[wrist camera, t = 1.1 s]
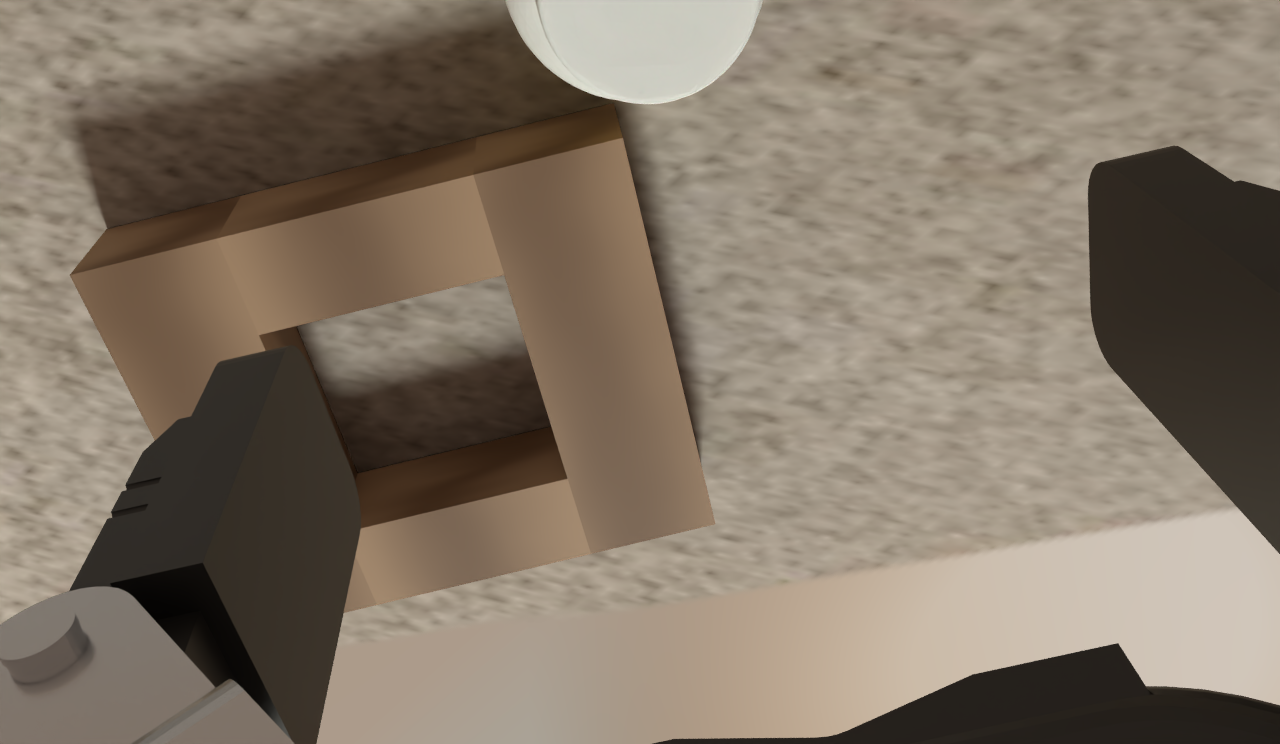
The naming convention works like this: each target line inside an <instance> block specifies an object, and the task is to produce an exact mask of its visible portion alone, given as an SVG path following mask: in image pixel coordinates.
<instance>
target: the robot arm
mask: <svg viewBox="0 0 1280 744" xmlns="http://www.w3.org/2000/svg"><path fill="white" fill-rule="evenodd" d="M1088 212H1089V258H1090V304H1091V316H1092V322H1093V327H1094V331H1095V335H1096V338H1097V341H1098V344H1099V347H1100V349H1101V352H1102V354H1103V356H1104V358H1105V359H1106V361H1107V363H1108V364H1109V365H1110V367H1111V368H1112V369H1113V370H1114V371H1115V372H1116V374H1117V375H1118V376H1119V377H1120V378H1121V379H1122V380H1123V381H1124V382H1125V384H1126V385H1127V386H1128V387H1129V388H1130V389H1131V390H1132V391H1133V392H1134V393H1135V395H1136V396H1137V397H1138V398H1139V399H1140V400H1141V401H1142V402H1143V403H1144V405H1145V406H1146V407H1147V408H1148V409H1149V410H1150V411H1151V412H1152V413H1153V414H1154V416H1155V417H1156V418H1157V419H1158V420H1159V421H1160V422H1161V423H1162V424H1163V426H1164V427H1165V428H1166V429H1167V430H1168V431H1169V432H1170V433H1171V434H1172V435H1173V437H1174V438H1175V439H1176V440H1177V441H1178V442H1179V443H1180V444H1181V445H1182V447H1183V448H1184V449H1185V450H1186V451H1187V452H1188V453H1189V454H1190V455H1191V456H1192V458H1193V459H1194V460H1195V461H1196V462H1197V463H1198V464H1199V465H1200V466H1201V468H1202V469H1203V470H1204V471H1205V472H1206V473H1207V474H1208V475H1209V476H1210V477H1211V479H1212V480H1213V481H1214V482H1215V483H1216V484H1217V485H1218V486H1219V487H1220V488H1221V490H1222V491H1223V492H1224V493H1225V494H1226V495H1227V496H1228V497H1229V498H1230V500H1231V501H1232V502H1233V503H1234V504H1235V505H1236V506H1237V507H1238V508H1239V509H1240V511H1241V512H1242V513H1243V514H1244V515H1245V516H1246V517H1247V518H1248V519H1249V521H1250V522H1251V523H1252V524H1253V525H1254V526H1255V527H1256V528H1257V529H1258V530H1259V531H1260V532H1261V534H1262V535H1263V536H1264V537H1265V538H1266V539H1267V540H1268V542H1269V543H1270V544H1271V545H1272V546H1273V547H1274V548H1275V549H1276V550H1277V551H1278V553H1279V554H1280V191H1278V190H1274V189H1271V188H1267V187H1263V186H1259V185H1256V184H1252V183H1248V182H1245V181H1241V180H1240V181H1236V182H1234V181H1232V180H1231V179H1229V178H1227V177H1226V176H1224V175H1223V174H1221V173H1220V172H1218V171H1217V170H1215V169H1214V168H1212V167H1211V166H1209V165H1207V164H1206V163H1204V162H1203V161H1201V160H1200V159H1198V158H1197V157H1195V156H1194V155H1192V154H1190V153H1189V152H1187V151H1186V150H1184V149H1183V148H1181V147H1179V146H1170V147H1166V148H1162V149H1157V150H1153V151H1149V152H1144V153H1140V154H1135V155H1131V156H1127V157H1122V158H1118V159H1113V160H1109V161H1105V162H1100V163H1098V164H1096V165H1095V167H1094V168H1093V170H1092V172H1091V175H1090V179H1089V186H1088ZM126 488H127V490H126V491H122V492H121V494H120V496H119V498H118V500H117V502H116V504H115V506H114V507H113V509H112V511H111V513H112V518H109V519H107V521H106V523H105V524H104V526H103V528H102V530H101V532H100V534H99V536H98V538H97V540H96V541H95V543H94V545H93V547H92V549H91V551H90V553H89V555H88V557H87V558H86V560H85V562H84V564H83V566H82V568H81V570H80V572H79V574H78V575H77V577H76V579H75V581H74V583H73V585H72V587H71V589H70V591H69V592H65V593H62V594H59V595H56V596H53V597H51V598H48V599H46V600H44V601H41V602H39V603H37V604H35V605H33V606H31V607H29V608H27V609H25V610H23V611H21V612H19V613H18V614H16V615H15V616H13V617H11V618H10V619H8V620H7V621H5V622H4V623H2V624H1V625H0V744H316V743H317V737H318V733H319V728H320V723H321V719H322V713H323V709H324V704H325V699H326V695H327V690H328V685H329V680H330V675H331V671H332V666H333V661H334V656H335V651H336V647H337V642H338V637H339V632H340V627H341V623H342V618H343V613H344V608H345V603H346V599H347V594H348V589H349V584H350V579H351V575H352V570H353V565H354V560H355V555H356V551H357V546H358V541H359V536H360V530H361V510H360V502H359V496H358V491H357V487H356V483H355V480H354V476H353V473H352V471H351V468H350V465H349V463H348V460H347V458H346V455H345V453H344V450H343V448H342V445H341V443H340V440H339V438H338V435H337V433H336V430H335V428H334V425H333V423H332V420H331V418H330V416H329V413H328V411H327V408H326V406H325V403H324V401H323V398H322V396H321V393H320V391H319V388H318V386H317V383H316V381H315V378H314V376H313V373H312V371H311V368H310V366H309V364H308V362H307V360H306V358H305V357H304V355H303V354H302V352H301V351H300V350H299V349H298V348H297V347H296V346H293V345H289V346H285V347H280V348H276V349H272V350H267V351H263V352H258V353H254V354H250V355H245V356H241V357H236V358H232V359H228V360H223V361H220V362H219V363H217V365H216V366H215V368H214V370H213V372H212V374H211V376H210V379H209V381H208V383H207V385H206V387H205V389H204V391H203V393H202V395H201V397H200V399H199V401H198V403H197V405H196V407H195V409H194V411H193V413H192V415H191V416H190V417H186V418H181V419H178V420H177V421H176V422H175V423H173V424H172V425H171V426H170V427H169V428H168V429H167V430H166V431H165V432H164V433H163V434H162V435H161V436H160V437H158V438H157V439H156V440H155V441H154V442H153V443H152V444H151V445H150V446H149V447H148V448H147V449H146V450H145V451H143V453H142V455H141V456H140V458H139V460H138V462H137V464H136V466H135V468H134V470H133V472H132V473H131V475H130V477H129V479H128V481H127V483H126ZM654 744H1280V705H1276V704H1272V703H1268V702H1264V701H1260V700H1256V699H1252V698H1248V697H1244V696H1239V695H1233V694H1227V693H1221V692H1215V691H1209V690H1203V689H1191V688H1177V687H1157V686H1154V687H1152V686H1151V687H1149V686H1145V685H1144V683H1143V681H1142V680H1141V678H1140V677H1139V675H1138V674H1137V672H1136V671H1135V669H1134V667H1133V666H1132V664H1131V663H1130V661H1129V660H1128V658H1127V656H1126V655H1125V653H1124V652H1123V650H1122V649H1121V647H1120V646H1119V644H1113V645H1108V646H1103V647H1099V648H1094V649H1090V650H1085V651H1080V652H1075V653H1071V654H1066V655H1062V656H1057V657H1052V658H1048V659H1044V660H1038V661H1034V662H1029V663H1024V664H1020V665H1015V666H1011V667H1006V668H1001V669H997V670H992V671H987V672H983V673H978V674H973V675H971V676H969V677H966V678H964V679H962V680H960V681H957V682H955V683H953V684H951V685H948V686H946V687H944V688H942V689H939V690H938V691H935V692H933V693H931V694H928V695H926V696H924V697H922V698H920V699H917V700H915V701H913V702H911V703H908V704H906V705H904V706H902V707H899V708H897V709H895V710H893V711H890V712H888V713H886V714H884V715H882V716H879V717H877V718H875V719H873V720H871V721H868V722H866V723H864V724H862V725H859V726H857V727H855V728H852V729H850V730H848V731H845V732H843V733H840V734H837V735H833V736H829V737H819V738H737V739H736V738H733V739H732V738H730V739H672V740H668V741H663V742H658V743H654Z"/></svg>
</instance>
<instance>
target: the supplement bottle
mask: <svg viewBox="0 0 1280 744" xmlns="http://www.w3.org/2000/svg"><path fill="white" fill-rule="evenodd" d="M505 2H506V4H507V7H508V10H509V13H510V16H511V18H512V20H513V22H514V24H515V26H516V28H517V30H518V32H519V34H520V36H521V37H522V39H523V40H524V42H525V43H526V45H527V46H528V47H529V49H530V50H531V51H532V52H533V54H534V55H535V56H536V57H537V58H538V59H539V60H540V61H541V62H542V63H543V64H544V65H545V66H546V67H547V68H548V69H549V70H550V71H552V72H553V73H554V74H555V75H557V76H558V77H560V78H561V79H563V80H564V81H566V82H567V83H569V84H571V85H573V86H574V87H576V88H579V89H581V90H583V91H585V92H588V93H590V94H593V95H596V96H600V97H604V98H607V99H614V100H619V101H623V102H629V103H636V104H659V103H666V102H670V101H675V100H678V99H681V98H683V97H686V96H689V95H692V94H694V93H696V92H698V91H700V90H701V89H703V88H705V87H706V86H708V85H709V84H711V83H712V82H713V81H715V80H716V79H717V78H718V77H720V76H721V75H722V74H723V73H724V72H725V71H726V70H727V69H728V68H729V67H730V66H731V65H732V64H733V62H734V61H735V60H736V58H737V57H738V56H739V54H740V53H741V51H742V50H743V48H744V47H745V45H746V43H747V41H748V39H749V37H750V35H751V33H752V30H753V28H754V25H755V22H756V18H757V16H758V14H759V11H760V9H761V6H762V3H763V0H505Z"/></svg>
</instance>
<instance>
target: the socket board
mask: <svg viewBox="0 0 1280 744" xmlns="http://www.w3.org/2000/svg"><path fill="white" fill-rule="evenodd" d="M502 275H504V276H505V279H506V282H507V285H508V288H509V292H510V295H511V298H512V301H513V305H514V308H515V311H516V314H517V317H518V321H519V324H520V327H521V330H522V334H523V337H524V340H525V343H526V346H527V350H528V353H529V356H530V359H531V362H532V366H533V369H534V372H535V375H536V379H537V382H538V385H539V388H540V391H541V395H542V398H543V401H544V404H545V408H546V411H547V414H548V417H549V420H550V424H551V427H547V428H543V429H539V430H535V431H531V432H527V433H523V434H518V435H514V436H510V437H506V438H502V439H498V440H494V441H490V442H485V443H481V444H477V445H473V446H469V447H465V448H461V449H456V450H452V451H448V452H444V453H440V454H436V455H432V456H428V457H423V458H419V459H415V460H411V461H407V462H403V463H399V464H394V465H390V466H386V467H382V468H378V469H374V470H370V471H365V472H361V473H357V471H356V469H355V466H354V464H353V461H352V459H351V457H350V454H349V452H348V449H347V447H346V445H345V442H344V440H343V438H342V435H341V433H340V430H339V428H338V426H337V423H336V421H335V418H334V416H333V414H332V411H331V409H330V406H329V404H328V402H327V399H326V397H325V395H324V392H323V390H322V387H321V385H320V383H319V380H318V378H317V375H316V373H315V371H314V368H313V366H312V363H311V361H310V359H309V356H308V354H307V352H306V349H305V347H304V344H303V342H302V340H301V337H300V335H299V332H298V330H297V328H296V326H298V325H302V324H306V323H310V322H314V321H319V320H323V319H327V318H331V317H335V316H339V315H343V314H347V313H351V312H355V311H359V310H363V309H367V308H371V307H376V306H380V305H384V304H388V303H392V302H396V301H400V300H404V299H408V298H412V297H416V296H420V295H424V294H428V293H433V292H437V291H441V290H445V289H449V288H453V287H457V286H461V285H465V284H469V283H473V282H477V281H481V280H485V279H489V278H494V277H498V276H502ZM70 276H71V278H72V280H73V282H74V284H75V286H76V288H77V290H78V292H79V294H80V296H81V298H82V300H83V302H84V304H85V306H86V308H87V309H88V311H89V313H90V315H91V317H92V319H93V321H94V323H95V325H96V327H97V329H98V331H99V333H100V335H101V337H102V339H103V341H104V343H105V344H106V346H107V348H108V350H109V352H110V354H111V356H112V358H113V360H114V362H115V364H116V366H117V368H118V370H119V372H120V374H121V376H122V377H123V379H124V381H125V383H126V385H127V387H128V389H129V391H130V393H131V395H132V397H133V399H134V401H135V403H136V405H137V407H138V409H139V411H140V412H141V414H142V416H143V418H144V420H145V422H146V424H147V426H148V428H149V430H150V432H151V434H152V436H153V438H154V440H156V439H157V438H158V437H160V436H161V435H162V434H163V433H164V432H165V431H166V430H167V429H168V428H169V427H170V426H171V425H172V424H173V423H175V422H176V421H177V420H178V419H181V418H186V417H190V416H191V415H192V413H193V411H194V409H195V407H196V405H197V403H198V401H199V399H200V397H201V395H202V393H203V391H204V389H205V387H206V385H207V383H208V381H209V379H210V376H211V374H212V372H213V370H214V368H215V366H216V365H217V363H219V362H220V361H223V360H228V359H232V358H236V357H241V356H245V355H250V354H254V353H258V352H263V351H267V350H272V349H276V348H280V347H285V346H289V345H293V346H296V347H297V348H298V349H299V350H300V351H301V352H302V354H303V355H304V357H305V358H306V360H307V362H308V364H309V366H310V368H311V371H312V373H313V376H314V378H315V381H316V383H317V386H318V388H319V391H320V393H321V396H322V398H323V401H324V403H325V406H326V408H327V411H328V413H329V416H330V418H331V420H332V423H333V425H334V428H335V430H336V433H337V435H338V438H339V440H340V443H341V445H342V448H343V450H344V453H345V455H346V458H347V460H348V463H349V465H350V468H351V471H352V473H353V476H354V480H355V483H356V487H357V491H358V496H359V502H360V510H361V530H360V536H359V541H358V546H357V551H356V555H355V560H354V565H353V570H352V575H351V579H350V584H349V589H348V594H347V599H346V603H345V608H344V613H345V612H349V611H353V610H358V609H362V608H366V607H370V606H374V605H378V604H383V603H387V602H391V601H395V600H399V599H404V598H408V597H412V596H416V595H420V594H425V593H429V592H433V591H437V590H441V589H445V588H450V587H454V586H458V585H462V584H466V583H471V582H475V581H479V580H483V579H487V578H492V577H496V576H500V575H504V574H508V573H513V572H517V571H521V570H525V569H529V568H533V567H538V566H542V565H546V564H550V563H554V562H559V561H563V560H567V559H571V558H575V557H580V556H584V555H588V554H592V553H596V552H601V551H605V550H609V549H613V548H617V547H621V546H626V545H630V544H634V543H638V542H642V541H647V540H651V539H655V538H659V537H663V536H668V535H672V534H676V533H680V532H684V531H689V530H693V529H697V528H701V527H705V526H709V525H714V524H715V521H714V517H713V512H712V508H711V504H710V500H709V496H708V491H707V487H706V483H705V479H704V475H703V471H702V466H701V462H700V458H699V454H698V450H697V446H696V441H695V437H694V433H693V429H692V425H691V420H690V416H689V412H688V408H687V404H686V400H685V395H684V391H683V387H682V383H681V379H680V375H679V370H678V366H677V362H676V358H675V354H674V350H673V345H672V341H671V337H670V333H669V329H668V324H667V320H666V316H665V312H664V308H663V304H662V299H661V295H660V291H659V287H658V283H657V279H656V274H655V270H654V266H653V262H652V258H651V254H650V249H649V245H648V241H647V237H646V233H645V228H644V224H643V220H642V216H641V212H640V208H639V203H638V199H637V195H636V191H635V187H634V183H633V178H632V174H631V170H630V166H629V162H628V158H627V153H626V149H625V145H624V141H623V137H622V133H621V129H620V125H619V121H618V117H617V114H616V110H615V106H614V103H612V104H607V105H603V106H599V107H595V108H591V109H587V110H583V111H579V112H575V113H571V114H567V115H563V116H559V117H555V118H551V119H547V120H543V121H539V122H535V123H531V124H527V125H523V126H519V127H515V128H511V129H507V130H503V131H499V132H495V133H491V134H487V135H483V136H479V137H475V138H471V139H467V140H463V141H459V142H455V143H451V144H447V145H443V146H439V147H435V148H431V149H427V150H423V151H419V152H415V153H411V154H407V155H403V156H399V157H395V158H391V159H387V160H383V161H379V162H375V163H371V164H367V165H363V166H359V167H355V168H351V169H347V170H343V171H339V172H335V173H331V174H327V175H323V176H318V177H314V178H310V179H306V180H302V181H298V182H294V183H290V184H286V185H282V186H278V187H274V188H270V189H266V190H262V191H258V192H254V193H250V194H246V195H242V196H238V197H234V198H230V199H226V200H222V201H218V202H214V203H210V204H206V205H202V206H198V207H194V208H190V209H186V210H182V211H178V212H174V213H170V214H166V215H162V216H158V217H154V218H150V219H146V220H142V221H138V222H134V223H130V224H126V225H122V226H118V227H114V228H110V229H106V231H105V232H104V233H103V234H102V236H101V237H100V238H99V239H98V241H97V242H96V243H95V244H94V246H93V247H92V248H91V249H90V251H89V252H88V253H87V254H86V256H85V257H84V258H83V259H82V261H81V262H80V263H79V264H78V266H77V267H76V268H75V269H74V271H73V272H72V273H71V274H70Z"/></svg>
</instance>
